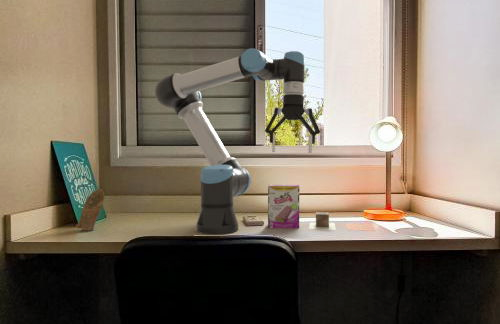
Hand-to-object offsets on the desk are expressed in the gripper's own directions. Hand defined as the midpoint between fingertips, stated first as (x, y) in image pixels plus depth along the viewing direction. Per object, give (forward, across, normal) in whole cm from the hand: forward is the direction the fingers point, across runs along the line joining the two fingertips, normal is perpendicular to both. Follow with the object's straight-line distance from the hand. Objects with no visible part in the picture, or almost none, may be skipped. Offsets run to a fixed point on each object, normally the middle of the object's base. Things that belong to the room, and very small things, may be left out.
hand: (291, 152), depth 136 cm
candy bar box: (+28, -3, -6) cm, 29 cm away
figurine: (+31, -73, -1) cm, 79 cm away
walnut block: (+26, +11, -6) cm, 29 cm away
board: (+27, +17, -7) cm, 33 cm away
